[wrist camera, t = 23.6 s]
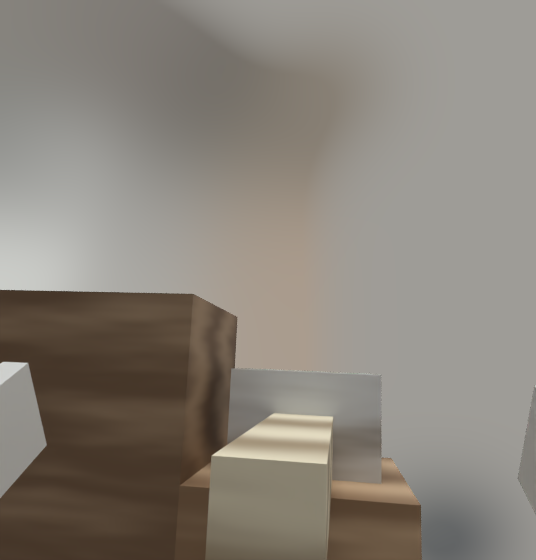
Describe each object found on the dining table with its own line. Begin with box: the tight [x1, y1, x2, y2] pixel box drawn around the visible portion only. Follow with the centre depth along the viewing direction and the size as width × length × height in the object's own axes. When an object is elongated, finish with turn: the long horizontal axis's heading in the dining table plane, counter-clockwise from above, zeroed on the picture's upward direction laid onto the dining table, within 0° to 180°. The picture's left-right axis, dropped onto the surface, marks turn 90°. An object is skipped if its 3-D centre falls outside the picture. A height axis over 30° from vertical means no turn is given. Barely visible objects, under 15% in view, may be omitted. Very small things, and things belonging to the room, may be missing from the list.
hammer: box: [205, 369, 381, 560], centre depth 24 cm, size 20×9×6 cm, turn 171°
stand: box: [0, 290, 422, 560], centre depth 29 cm, size 12×24×30 cm, turn 82°
